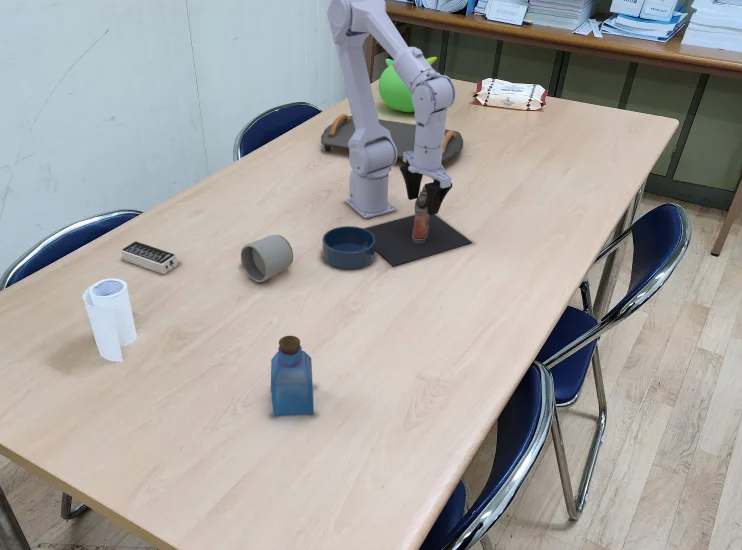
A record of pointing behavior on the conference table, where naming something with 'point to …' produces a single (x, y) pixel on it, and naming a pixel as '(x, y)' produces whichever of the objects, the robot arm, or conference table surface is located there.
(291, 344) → the perfume bottle
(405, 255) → the desk mat
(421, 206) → the lighter
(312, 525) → the conference table surface
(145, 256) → the multiport hub
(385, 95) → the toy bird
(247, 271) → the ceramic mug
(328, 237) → the blue round dish
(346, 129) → the serving tray
